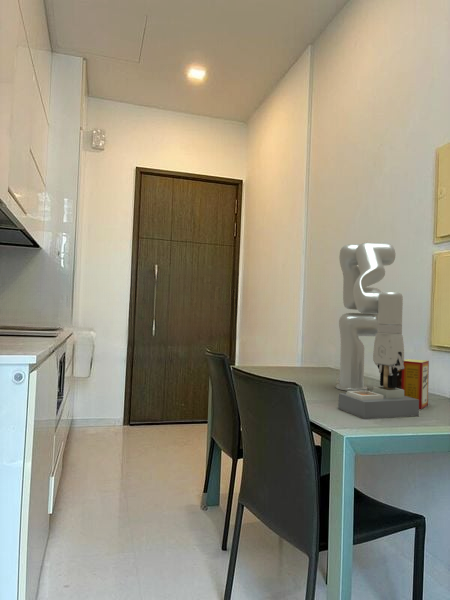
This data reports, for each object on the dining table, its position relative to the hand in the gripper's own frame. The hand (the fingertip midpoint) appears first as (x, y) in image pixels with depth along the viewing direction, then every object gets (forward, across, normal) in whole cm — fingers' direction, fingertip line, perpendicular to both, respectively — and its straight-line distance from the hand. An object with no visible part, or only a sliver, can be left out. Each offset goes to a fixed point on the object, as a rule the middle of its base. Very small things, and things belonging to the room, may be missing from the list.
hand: (388, 386), depth 145 cm
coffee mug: (+8, -25, +29) cm, 39 cm away
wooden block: (+2, 0, 0) cm, 2 cm away
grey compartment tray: (+8, 0, -4) cm, 9 cm away
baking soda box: (+8, -6, +16) cm, 19 cm away
